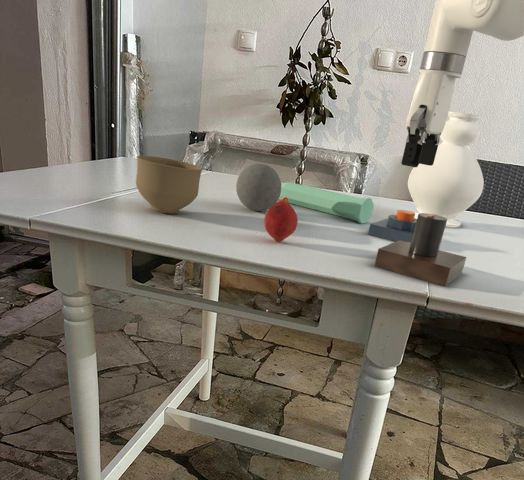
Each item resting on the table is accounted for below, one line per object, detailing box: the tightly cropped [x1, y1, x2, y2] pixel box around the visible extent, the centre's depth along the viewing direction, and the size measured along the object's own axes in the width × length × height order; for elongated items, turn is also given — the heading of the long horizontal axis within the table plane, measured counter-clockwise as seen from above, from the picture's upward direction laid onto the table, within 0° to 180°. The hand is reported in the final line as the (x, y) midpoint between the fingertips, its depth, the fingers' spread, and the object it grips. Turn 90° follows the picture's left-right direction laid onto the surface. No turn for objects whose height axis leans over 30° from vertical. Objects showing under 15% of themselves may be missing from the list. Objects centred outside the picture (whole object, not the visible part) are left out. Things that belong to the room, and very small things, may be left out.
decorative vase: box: [407, 111, 485, 228], centre depth 123 cm, size 18×18×25 cm
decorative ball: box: [235, 163, 282, 212], centre depth 112 cm, size 10×10×10 cm
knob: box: [409, 213, 447, 257], centre depth 83 cm, size 5×5×6 cm
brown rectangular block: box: [374, 240, 467, 287], centre depth 85 cm, size 12×10×3 cm
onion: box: [264, 197, 299, 243], centre depth 89 cm, size 6×6×8 cm
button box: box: [367, 214, 417, 243], centre depth 106 cm, size 11×9×4 cm
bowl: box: [135, 155, 203, 215], centre depth 100 cm, size 13×13×10 cm
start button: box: [395, 209, 416, 221], centre depth 105 cm, size 4×4×2 cm
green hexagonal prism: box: [279, 181, 374, 224], centre depth 122 cm, size 6×6×25 cm
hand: (417, 165), depth 100 cm, fingers open, 9 cm apart
